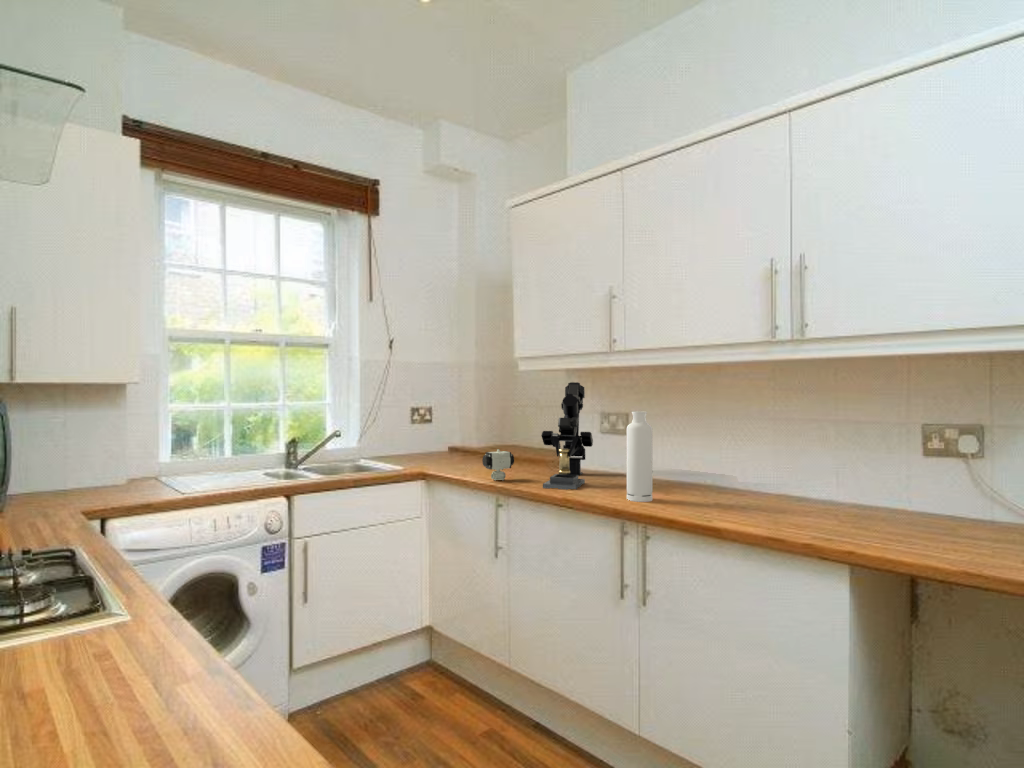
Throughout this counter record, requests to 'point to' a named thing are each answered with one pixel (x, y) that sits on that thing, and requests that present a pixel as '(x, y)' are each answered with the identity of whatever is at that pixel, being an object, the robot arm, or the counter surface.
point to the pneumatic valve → (498, 463)
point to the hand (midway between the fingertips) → (563, 456)
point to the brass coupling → (564, 461)
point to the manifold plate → (564, 482)
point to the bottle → (639, 459)
